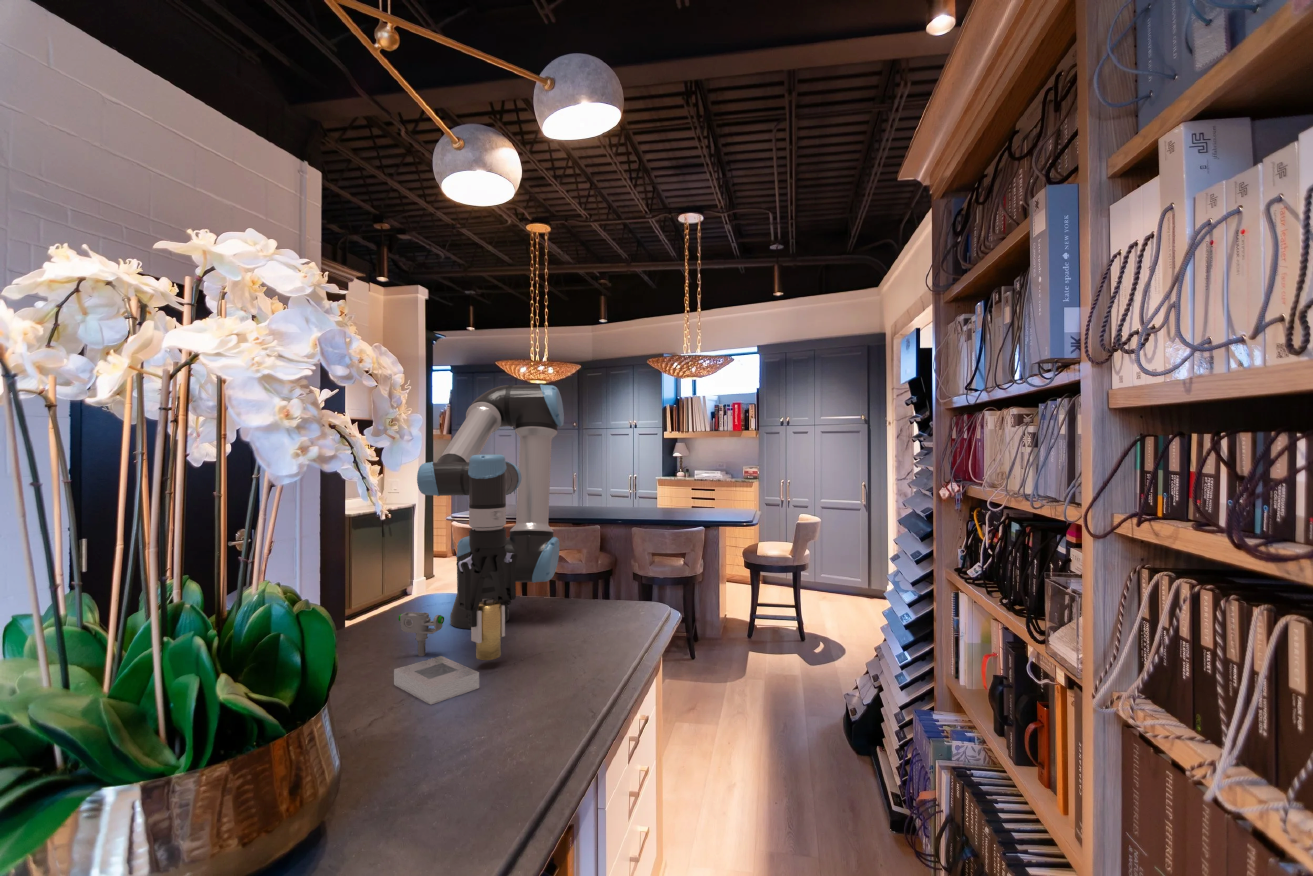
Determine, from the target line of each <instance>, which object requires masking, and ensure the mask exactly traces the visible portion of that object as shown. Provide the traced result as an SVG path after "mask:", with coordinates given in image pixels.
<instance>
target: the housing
mask: <svg viewBox="0 0 1313 876" xmlns="http://www.w3.org/2000/svg"><path fill="white" fill-rule="evenodd" d="M393 686H395V687H396V688H399V689H400V690H402V691H404V692H406V693H408V694H410V695H412V696H413V697H415V698H417V699H419V700H421V701H422V702H425V703H426V704H427V705H431V706H432V705H435V704H437V703H440V702H443V701H446V700H449V699H453V698H455V697H457V696H461V695H464V694H466V693H470V692H473V691H475V690H478V689H480V672H479V671H477V670H475V669H473V668H471V667H467V666H465V665H464V664H461V663H459V662H456V661H454V660H452V659H449V658H447V657H445V656H443V655H439V656H436V657H432V658H429V659H425V660H422V661H419V662H415V663H412V664H411V663H410V664H409V665H405V666H401V667H396V668H394V669H393Z"/></svg>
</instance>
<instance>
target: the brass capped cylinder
mask: <svg viewBox="0 0 1313 876" xmlns="http://www.w3.org/2000/svg"><path fill="white" fill-rule="evenodd" d="M478 610H480V611H482V643H476V642H475V651H476V652H475V656H476V657H475V658H476V659H477V660H479V661H492V660H495V659H498V658H500V657H501V655H502V651H501V648H502V647H501V645H502V644H501V641H502V637H501V607H500V602H499V601H494V598H483V599H482V602H479V607H478Z"/></svg>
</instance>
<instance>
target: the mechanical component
mask: <svg viewBox="0 0 1313 876" xmlns="http://www.w3.org/2000/svg"><path fill="white" fill-rule="evenodd" d="M398 621H399V623H400V629H401V631H402V632H404V633H413V634H415V641H417V656H418V657H424V656H426V641H427V640H428V638H429V636H428V634H429V635H433V634H434V633H437V632H438V631H441V630H442V628H443V624H444V623H445V616H443V615H441V614H436V615H435V616H434V618H433V620H431V616H430V615H429V612H417V611H406V612H404V613H400V614H399V615H398ZM432 627H433V628H432Z"/></svg>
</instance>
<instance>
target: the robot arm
mask: <svg viewBox="0 0 1313 876" xmlns="http://www.w3.org/2000/svg"><path fill="white" fill-rule="evenodd" d="M564 413H565V411H564V404H563V400H562V395H561V394H560V390H559V388H558V387H556V386H555V385H552V384H551V385H550V384H549V385H547V384H529V385H528V384H523V385H521V384H520V385H515V384H514V385H510V384H509V385H508V384H507V385H500V386H497V387H494V388H492V389H489V390H487V391H486V392H484V393H482V394H481V395H480V396H478V397H477V398H475V400H474V401H472V403H470V405H469V407H468V408H467V410H466V412H465V420H464V421H463V423H462V424H461V426H460V428H459V429H458V430H457V432H455V434H454V436H453V438H452V439H451V440H450V442H449V444H447V447H446V448H445V450H444V451H443V453H442V454H441V455H440V457H439V458H438V460H437V461H436V462H435V461H434V462H433V461H431V462H430V461H429V462H424V463H422V464H421V465H420V466H419V467H418V471H417V475H416V483H417V487H418V490H419V491H420V493H421V494H422V495H425V496H437V497H440V496H441V497H443V496H444V497H445V496H449V497H451V496H454V497H455V496H468V499H469V500H468V501H469V502H468V503H469V504H468V505H469V506H468V507H469V508H468V511H469V512H468V526H469V527H470V528H471V529H470V530H469V531H468V533H469V535H468V536H465V537H462V538H460V539H459V540H458V542H457V544H456V545H457V546H456V549H457V550H456V556H455V557H456V591H457V592H456V596H455V599H454V602H453V605H452V608H451V611H450V617H449V619H450V620H449V621H450V625H451V626H453V627H454V628H459V629H466V630H467V629H469V630H470V631H471V633H470V634H471V635H470V636H471V637H470V639H471V642H474V643H475V644H476V643H482V611H480V610H478V607H479V602H482V599H483V598H494V601H499V602H500V607H501V638H503V637H506V623H507V622H508V621H509V620H510V610H509V607H508V606H510V605H511V604H512V601H514V600H515V599H516V598H517V590H516V589H517V588H516V587H517V585H516V584H517V583H543V582H549V581H550V580H552V579H553V577H554V575H555V573H556V570H557V567H558V564H559V557H560V545H561V544H560V543H561V542H560V539H559V538H558V537H557V536H555V535H554V529H552V527H550V525H549V511H550V510H549V509H550V488H551V487H550V486H551V485H550V483H551V461H552V459H551V457H552V440H553V439H554V438H555V436H557V435H558V428H561V427H562V426H564V421H565V415H564ZM502 427H503V428H504V427H505V428H506V427H511V428H514V433H516V434H517V435H518V437H519V458H518V459H519V460H518V466H517V465H516V464H514V463H512V462H510V461H506V456H505V455H503V454H498V453H497V454H496V453H495V454H493V453H492V454H481V452H482V451H483V449H484V447H485V446H486V444H487V442H488V440H489V438H490V437H491V435H492V434H493V433H496V432H497V431H498V430H499V429H500V428H502ZM516 490H517V496H516V498H517V499H516V517H515V518H516V519H515V520H516V521H515V525H514V526H513V527H511V529H510V530H509V537H507V530H506V528H505V526H506V525H507V511H506V510H507V500H506V497H507V496H508V495H511V494H512V493H513V492H515V491H516Z"/></svg>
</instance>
